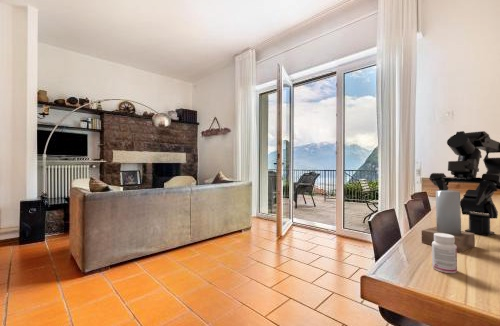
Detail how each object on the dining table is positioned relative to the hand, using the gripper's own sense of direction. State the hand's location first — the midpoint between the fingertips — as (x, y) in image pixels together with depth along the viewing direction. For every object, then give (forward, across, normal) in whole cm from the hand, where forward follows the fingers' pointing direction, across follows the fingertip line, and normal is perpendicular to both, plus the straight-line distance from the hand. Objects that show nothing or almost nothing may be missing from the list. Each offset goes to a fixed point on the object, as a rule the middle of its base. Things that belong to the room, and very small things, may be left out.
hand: (459, 202), depth 81 cm
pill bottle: (+27, +8, -20) cm, 34 cm away
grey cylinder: (+12, 0, -3) cm, 12 cm away
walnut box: (+15, 0, -1) cm, 15 cm away
